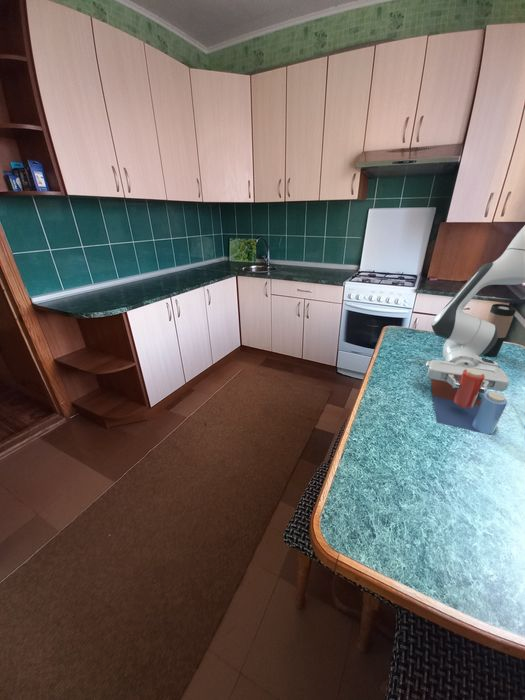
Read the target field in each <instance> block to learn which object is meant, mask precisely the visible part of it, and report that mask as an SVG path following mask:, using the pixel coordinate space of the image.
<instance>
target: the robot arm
mask: <svg viewBox="0 0 525 700" xmlns="http://www.w3.org/2000/svg"><path fill="white" fill-rule="evenodd" d="M522 284H525V225H524V226H523V227H522V228H521V229H520V230H519V231H518V232H517V233H516V235H515V236H514V237H513V238H512V240H511V242H510V243H508V245H507V247H506V249H505V250H504V251H503V253H502V254H501V255H500V256H499V257H497V259H496V260H494V261H492V262H486V263H484V264H483V265H482V266H480V267H479V268H478V269H477V270H476V271H475V272H474V273H473V274H472V275H471V276H470V278H468V280H467V281H465V283H464V284H463V286H462V287H461V288H460V289H459V290H457V291H458V292H456V294H455V295H454V296H453V297H452V298H451V300H450V301H449V302H448V303H447V304H446V305H445V306H444V307H443V308H442V309H441V310H440V311H439V312H438V313H437V314H435V316H434V318H433V320H432V322H431V328H432V331H433V333H434V334H435V336H436V337H440V338H443V339H446V341H445V342H444V343H443V347H442V356H443V357H442V358H443V360H440V359H431V360H427V361H426V362H425V366H426V367H427V368H428V369H427V372H426V377H428V378H429V379H430V380H431V379H435V380H441V381H446V382H448V383H449V384H451V385H452V387H453V388H457V389H459V386H460V379H461V376H462V373H463V371H464V370H466V369H468V368H475V369H478V370H480V371H482V373H483V374H484V375H485V377H484V380H483V383H482V385H481V388H480V390H479V393H480V394H483V395H484V394H485V393H487V391H488V390H491V391H497V392H505V391H507V389H508V387H509V385H510V378H509V377H508V375H507V373H506V372H505V371H504V370H503V369H502V368H500V367H499V363H498V362H497V361H496V360H491V359H487V358H485V357H482V356H483V355H484V354H486V353H487V352H489V351H490V350H491V349H492V348H493V346H494V345H495V343H496V342H497V338H498V332H497V328H496V326H495V325H494V324H492V323H489V322H487V320H484V319H482V318H479V317H477V316H474V315H471V314H468V313H466V312H464V311H463V310H464V308H465V307H466V306H467V305H468V304H469V303H470V301H471V300H472V299H473V298H474V297H475V296H476V295H477V293H478V292H479V291H481V290H482V289H483V288H485V287H487V286H494V285H499V286H501V285H502V286H512V285H515V286H516V285H522ZM479 393H478V394H479Z"/></svg>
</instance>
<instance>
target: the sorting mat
mask: <svg viewBox="0 0 525 700" xmlns="http://www.w3.org/2000/svg"><path fill="white" fill-rule="evenodd" d="M430 384H431V391H432V397H433V398H432V399H433V405H434V406H433V407H434V414H435V421H436V423H437V424H442V425H446V426H450V427H455V428H458V429H463V430H467V431H472V432H475V433H481V434H485V433H482V432H479V431H477V430H476V429H475V428H474V427H473V426H472V423H473V421H474V418H475V416H476V413H477V411H478V408H479V406H480V403H481V401H480V400H479V399H480V398H479V397H478V396H477V398H476V401H475V403H474V406H473V407H472V408H464V407H461V406H458V405H457V404H455V403H454V397H455V394H456V391H457V388H453V387H452V385H451V384H449V383H448V382H446V381H441V380H435V379H430ZM485 435H486V434H485ZM487 435H489V436H492V434H487Z"/></svg>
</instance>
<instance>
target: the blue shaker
mask: <svg viewBox="0 0 525 700" xmlns="http://www.w3.org/2000/svg"><path fill="white" fill-rule="evenodd" d="M507 405H508V400H507V399H506V397H505V396H504V394H502V393H499V392H496V391H489V392H486V393H485V394H484V393H483V396H482V399H481V401H480V406H479V408H478V411H477V413H476V416H475V418H474V421H473V423H472V426H473V427H474V428H475V429H476V430H477V431H479V432H478V433H480V432H482V433H481V434H484V433H485V435H488V434H491V435H492V434H494V432H495V431H496V428H497V426H498V424H499V422H500V420H501V417H502V415H503V413H504V411H505V409H506V407H507Z"/></svg>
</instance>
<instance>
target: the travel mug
mask: <svg viewBox="0 0 525 700" xmlns="http://www.w3.org/2000/svg"><path fill="white" fill-rule="evenodd" d="M516 311H517V308H514V307H513V306H512V305H509V304H505V303H504V304H503V303H493V304H492V305H491V307H490V309H489V312H488V316H487V318H486V321H487V322H489V323H492V324H494V325H495V326H496V328H497V332H498V338H497V342H496V343H495V345H494V346H493V348H492V349H491V350H490V351H489V352H487V353H486V354H484V355H482V356H483V357H487V358H494V357H495V358H496V357H497V356H498V355H499V352H500V350H501V348H502V346H503V344H504V341H505V340H506V337H507V335H508V333H509V329H510V327H511V324H512V322H513V319H514V316H515V314H516Z"/></svg>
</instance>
